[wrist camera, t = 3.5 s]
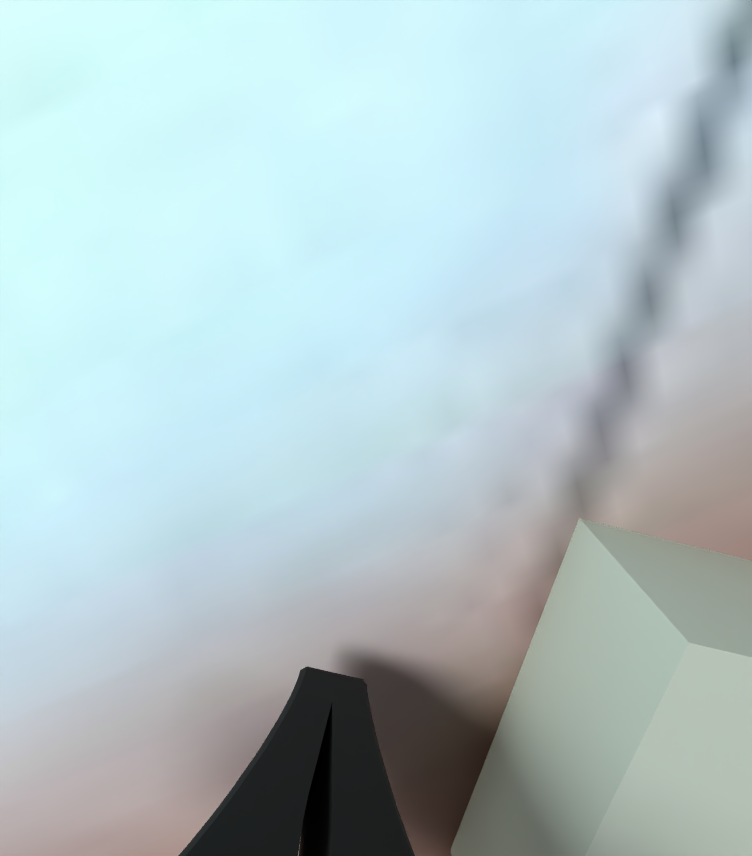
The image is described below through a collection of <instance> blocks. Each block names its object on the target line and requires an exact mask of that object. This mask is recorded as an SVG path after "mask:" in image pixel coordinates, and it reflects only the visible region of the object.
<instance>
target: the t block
mask: <svg viewBox="0 0 752 856" xmlns="http://www.w3.org/2000/svg"><path fill="white" fill-rule="evenodd" d="M451 856H752V561H751V560H747V559H743V558H739V557H735V556H731V555H727V554H723V553H719V552H715V551H711V550H707V549H702V548H698V547H694V546H690V545H686V544H682V543H678V542H674V541H670V540H666V539H662V538H658V537H653V536H649V535H645V534H641V533H637V532H633V531H629V530H625V529H621V528H617V527H613V526H609V525H604V524H600V523H596V522H592V521H588V520H584V519H580V518H579V521H578V523H577V526H576V528H575V531H574V533H573V536H572V539H571V541H570V544H569V546H568V549H567V551H566V554H565V557H564V559H563V562H562V564H561V567H560V569H559V572H558V575H557V577H556V580H555V582H554V585H553V587H552V590H551V593H550V595H549V598H548V600H547V603H546V605H545V608H544V611H543V613H542V616H541V618H540V621H539V623H538V626H537V629H536V631H535V634H534V636H533V639H532V641H531V644H530V647H529V649H528V652H527V654H526V657H525V659H524V662H523V665H522V667H521V670H520V672H519V675H518V677H517V680H516V683H515V685H514V688H513V690H512V693H511V695H510V698H509V701H508V703H507V706H506V708H505V711H504V713H503V716H502V719H501V721H500V724H499V726H498V729H497V731H496V734H495V737H494V739H493V742H492V744H491V747H490V749H489V752H488V755H487V757H486V760H485V762H484V765H483V767H482V770H481V773H480V775H479V778H478V780H477V783H476V785H475V788H474V791H473V793H472V796H471V798H470V801H469V803H468V806H467V809H466V811H465V814H464V816H463V819H462V821H461V824H460V827H459V829H458V832H457V834H456V837H455V839H454V842H453V845H452V847H451Z"/></svg>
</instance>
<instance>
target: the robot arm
mask: <svg viewBox="0 0 752 856" xmlns="http://www.w3.org/2000/svg"><path fill="white" fill-rule="evenodd" d="M300 837H301V839H300ZM299 844H300V849H299ZM298 850H299V856H415V855H414V852H413V850H412V847H411V844H410V842H409V839H408V837H407V834H406V831H405V828H404V825H403V822H402V820H401V817H400V814H399V811H398V808H397V805H396V802H395V799H394V796H393V793H392V790H391V787H390V783H389V780H388V777H387V773H386V770H385V766H384V763H383V759H382V756H381V752H380V749H379V745H378V741H377V737H376V733H375V728H374V724H373V720H372V715H371V710H370V705H369V699H368V693H367V685H366V683H365V682H364V680H363V679H359V678H354V677H350V676H346V675H341V674H337V673H332V672H328V671H324V670H319V669H315V668H311V667H305V668H303V669H302V670H300V674H299V677H298V680H297V682H296V685H295V687H294V689H293V692H292V694H291V696H290V698H289V700H288V702H287V704H286V706H285V707H284V709H283V711H282V713H281V715H280V717H279V718H278V720H277V722H276V723H275V725H274V727H273V728H272V730H271V731H270V733H269V735H268V736H267V738H266V740H265V741H264V743H263V744H262V746H261V748H260V749H259V751H258V752H257V754H256V755H255V757H254V758H253V760H252V761H251V763H250V764H249V765H248V767H247V768H246V770H245V771H244V772H243V774H242V775H241V777H240V778H239V780H238V781H237V782H236V784H235V785H234V787H233V788H232V790H231V791H230V792H229V794H228V795H227V796H226V798H225V799H224V800H223V802H222V803H221V804H220V805H219V807H218V808H217V809H216V811H215V812H214V813H213V815H212V816H211V817H210V818H209V820H208V821H207V822H206V823H205V825H204V826H203V827H202V828H201V830H200V831H199V832H198V833H197V834H196V836H195V837H194V838H193V839H192V841H191V842H190V843H189V844H188V845H187V847H186V848H185V849H184V850H183V851H182V852H181V853H180V855H179V856H298Z"/></svg>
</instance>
